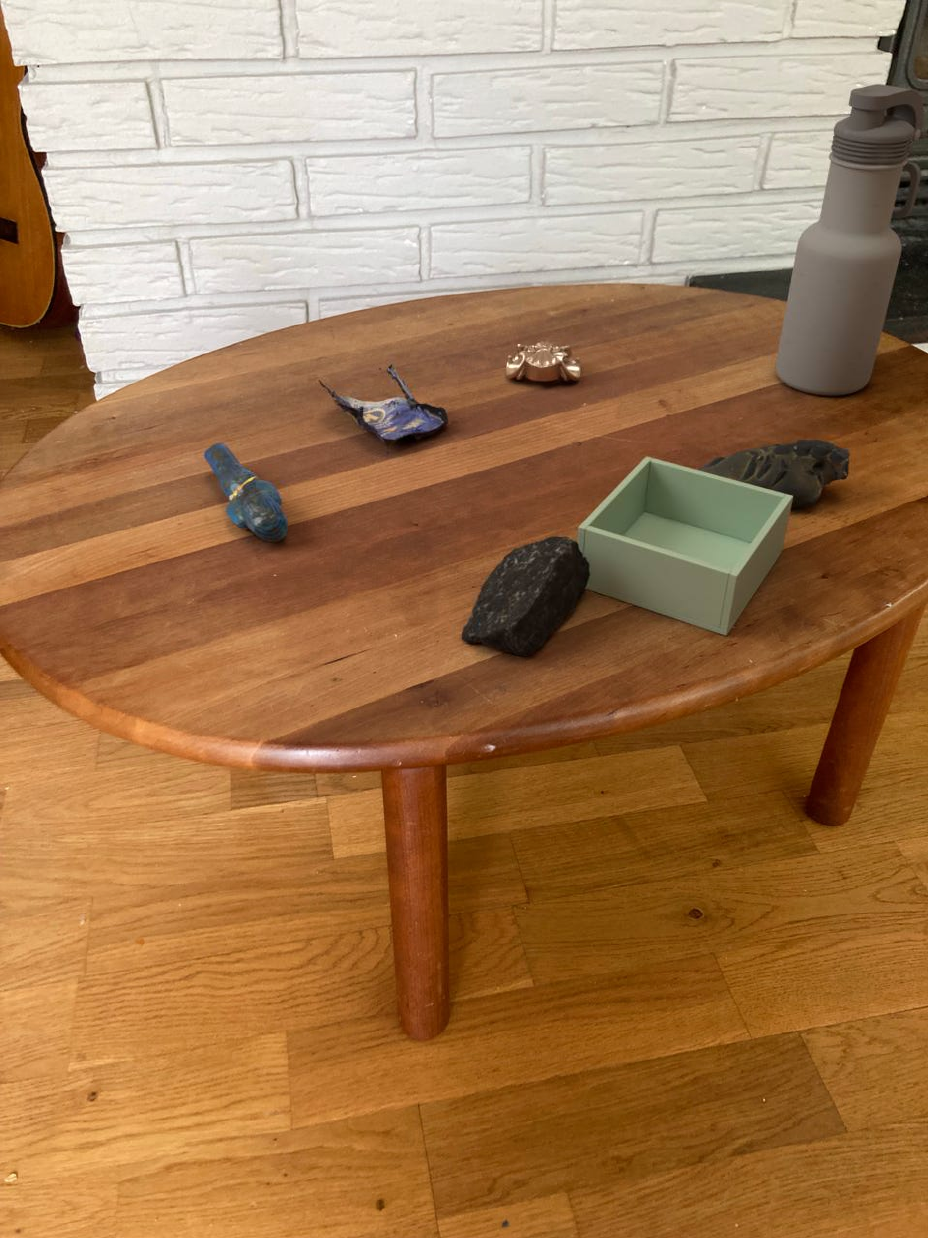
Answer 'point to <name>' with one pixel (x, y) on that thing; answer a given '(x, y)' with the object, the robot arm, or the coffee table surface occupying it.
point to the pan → (684, 542)
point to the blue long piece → (248, 496)
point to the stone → (786, 468)
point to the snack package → (393, 414)
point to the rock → (528, 596)
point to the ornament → (543, 363)
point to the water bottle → (851, 247)
